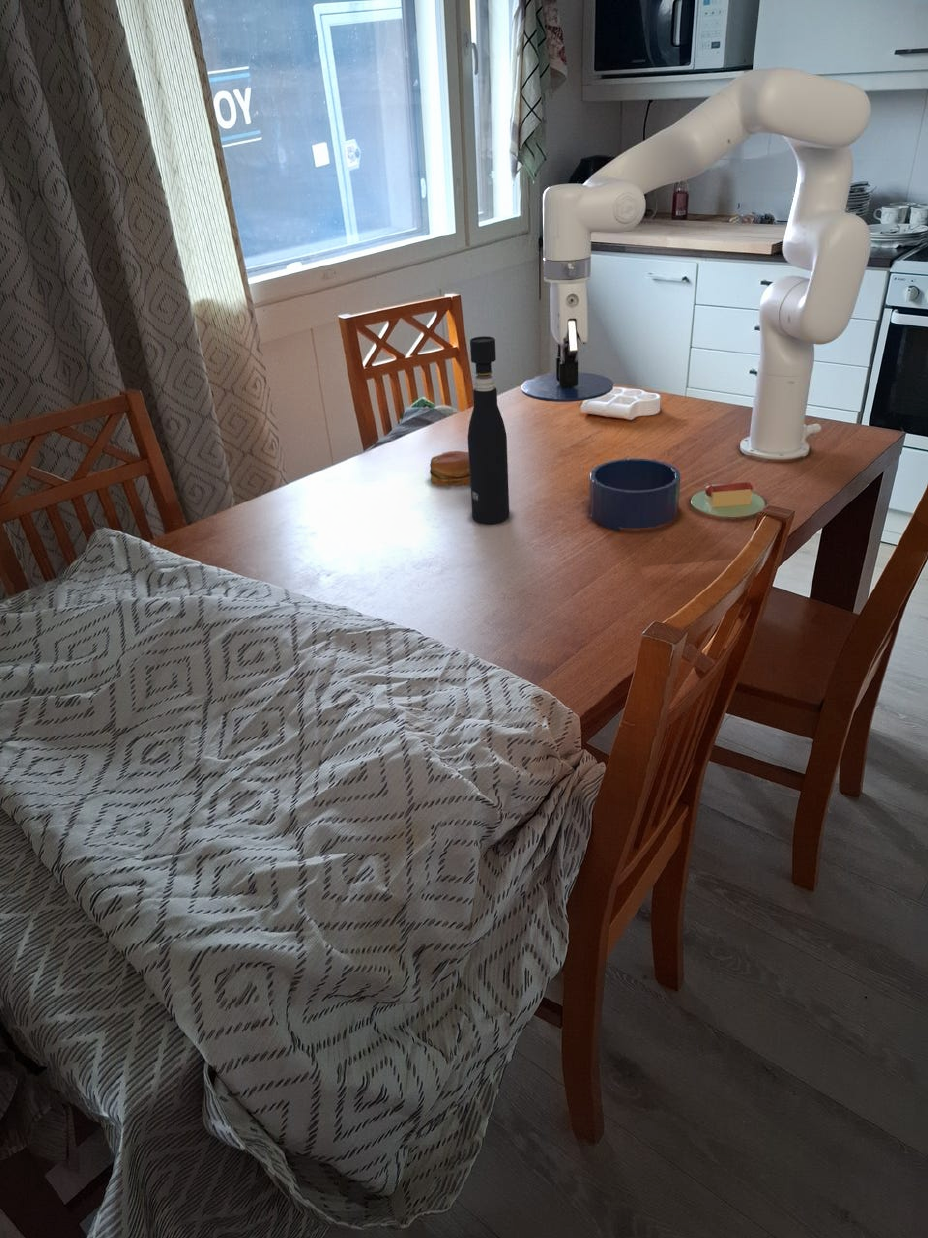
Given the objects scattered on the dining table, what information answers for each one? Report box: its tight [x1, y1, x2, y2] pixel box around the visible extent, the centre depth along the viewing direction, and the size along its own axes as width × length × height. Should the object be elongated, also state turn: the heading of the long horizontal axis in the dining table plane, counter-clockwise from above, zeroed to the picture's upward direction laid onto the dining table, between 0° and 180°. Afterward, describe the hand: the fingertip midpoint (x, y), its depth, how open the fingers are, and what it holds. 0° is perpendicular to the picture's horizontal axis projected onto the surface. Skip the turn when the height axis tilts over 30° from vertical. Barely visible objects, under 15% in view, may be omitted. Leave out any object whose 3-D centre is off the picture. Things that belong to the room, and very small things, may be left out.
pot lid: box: [520, 358, 614, 403], centre depth 147 cm, size 16×16×6 cm
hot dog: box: [704, 481, 754, 507], centre depth 145 cm, size 8×4×3 cm, turn 94°
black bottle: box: [467, 335, 510, 526], centre depth 140 cm, size 6×6×30 cm
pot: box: [589, 458, 681, 532], centre depth 144 cm, size 15×15×7 cm
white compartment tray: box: [579, 386, 662, 421], centre depth 191 cm, size 3×18×15 cm
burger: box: [429, 450, 470, 488], centre depth 162 cm, size 10×9×5 cm
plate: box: [690, 489, 766, 518], centre depth 146 cm, size 12×12×1 cm
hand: (567, 382), depth 148 cm, fingers closed on pot lid, 2 cm apart
